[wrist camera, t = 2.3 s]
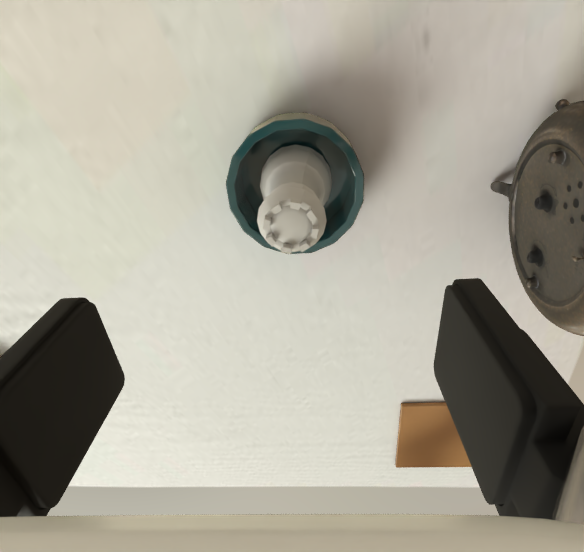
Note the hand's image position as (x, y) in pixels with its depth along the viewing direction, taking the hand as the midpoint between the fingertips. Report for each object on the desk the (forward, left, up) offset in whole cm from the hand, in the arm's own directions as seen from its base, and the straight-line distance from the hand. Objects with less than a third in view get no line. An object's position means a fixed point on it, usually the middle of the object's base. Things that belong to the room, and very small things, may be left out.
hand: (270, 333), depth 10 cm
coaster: (-13, +26, -16) cm, 33 cm away
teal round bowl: (0, 0, -16) cm, 16 cm away
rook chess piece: (0, 0, -16) cm, 16 cm away
